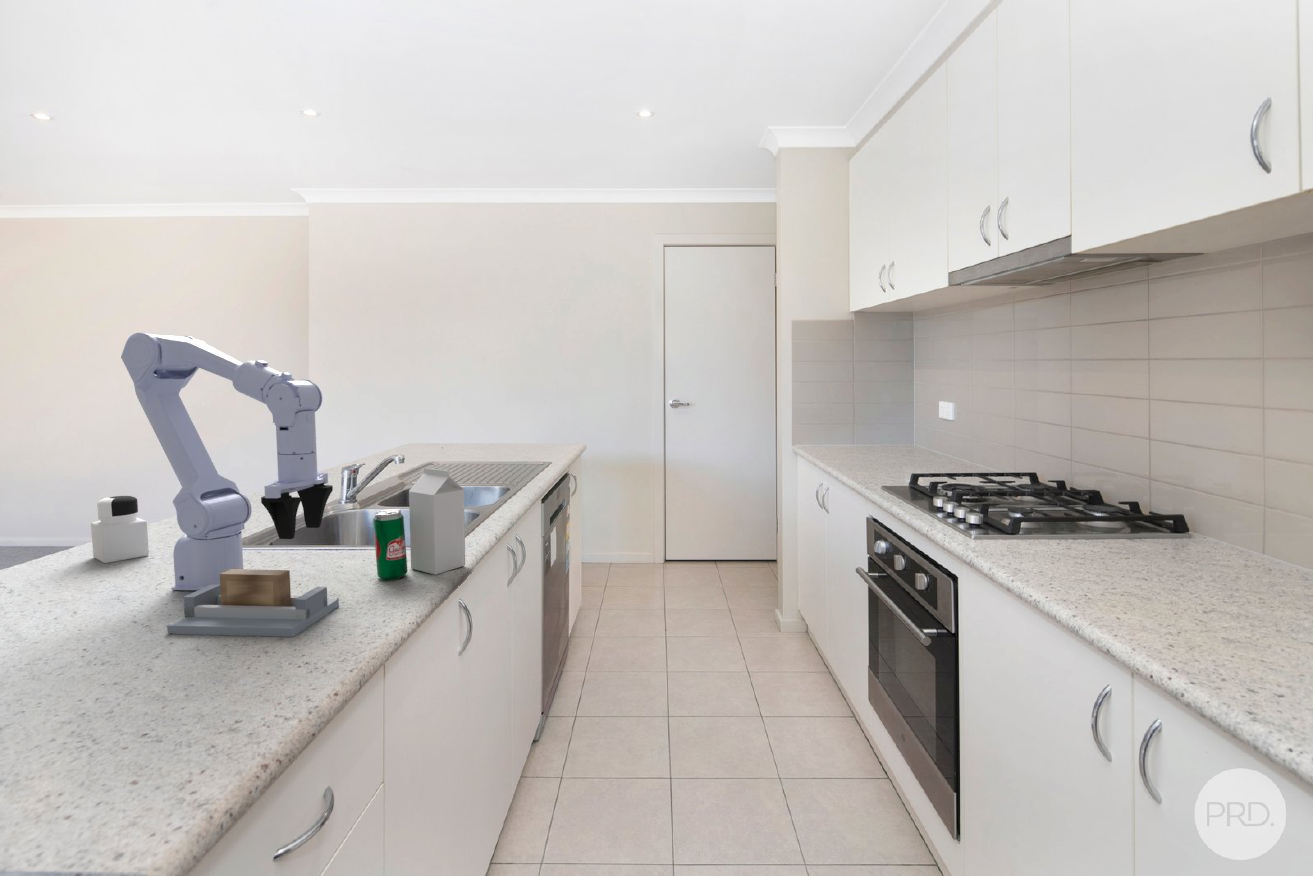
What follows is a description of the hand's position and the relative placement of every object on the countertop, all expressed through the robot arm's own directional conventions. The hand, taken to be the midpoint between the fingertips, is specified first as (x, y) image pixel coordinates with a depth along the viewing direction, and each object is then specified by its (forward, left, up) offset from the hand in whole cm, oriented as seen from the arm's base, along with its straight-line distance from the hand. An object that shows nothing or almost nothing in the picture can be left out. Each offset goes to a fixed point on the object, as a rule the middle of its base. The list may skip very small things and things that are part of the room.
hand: (300, 532), depth 106 cm
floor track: (+1, -13, -10) cm, 16 cm away
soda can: (+12, +8, -10) cm, 18 cm away
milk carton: (+18, +14, -10) cm, 25 cm away
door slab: (+1, -13, -9) cm, 16 cm away
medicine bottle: (-47, +17, -10) cm, 51 cm away
